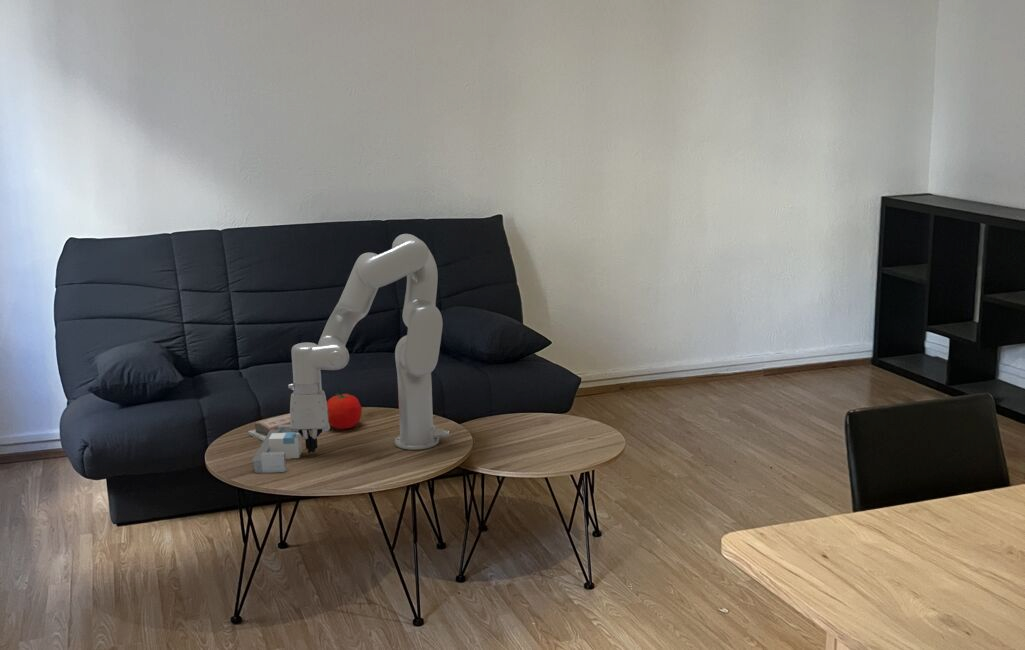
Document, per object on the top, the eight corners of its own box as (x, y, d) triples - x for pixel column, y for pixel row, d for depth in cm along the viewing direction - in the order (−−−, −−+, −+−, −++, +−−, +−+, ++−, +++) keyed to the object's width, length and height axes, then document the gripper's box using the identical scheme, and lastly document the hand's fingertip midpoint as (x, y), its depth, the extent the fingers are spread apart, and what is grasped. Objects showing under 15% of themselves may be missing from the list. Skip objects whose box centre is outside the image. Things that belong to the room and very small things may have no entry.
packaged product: (298, 407, 332) (317, 414, 325) (298, 422, 333) (317, 429, 326) (246, 420, 320) (265, 427, 313) (247, 436, 321) (266, 443, 314)
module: (302, 452, 305) (300, 432, 303) (299, 458, 300) (297, 437, 298) (273, 453, 304) (272, 432, 303) (270, 459, 299) (268, 438, 298)
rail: (300, 440, 314) (299, 424, 313) (284, 472, 289) (283, 454, 288) (271, 441, 314) (269, 425, 313) (252, 473, 289) (251, 455, 288)
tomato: (367, 420, 332) (365, 388, 330) (356, 434, 320) (355, 400, 317) (331, 420, 333) (329, 388, 331) (319, 433, 321) (317, 400, 319)
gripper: (277, 392, 294) (282, 456, 298) (333, 390, 294) (337, 455, 298) (282, 384, 301) (287, 447, 305) (336, 383, 301) (340, 446, 305)
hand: (311, 451), depth 302 cm, fingers closed
